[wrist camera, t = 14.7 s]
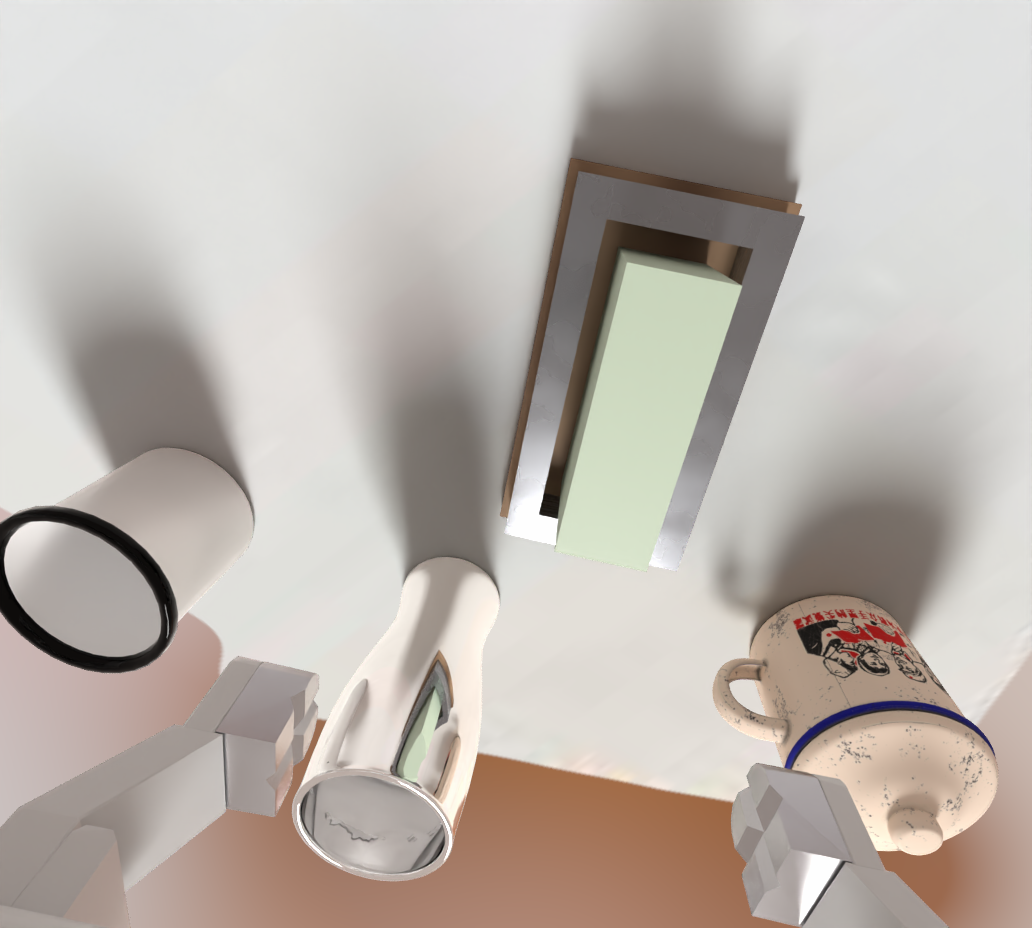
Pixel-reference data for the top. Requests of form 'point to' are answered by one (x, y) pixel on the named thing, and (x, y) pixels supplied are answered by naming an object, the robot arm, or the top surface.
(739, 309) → the locating frame
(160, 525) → the mug
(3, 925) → the robot arm
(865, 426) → the top surface
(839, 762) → the teacup with lid
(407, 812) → the white tumbler
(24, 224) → the top surface
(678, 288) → the green bar
